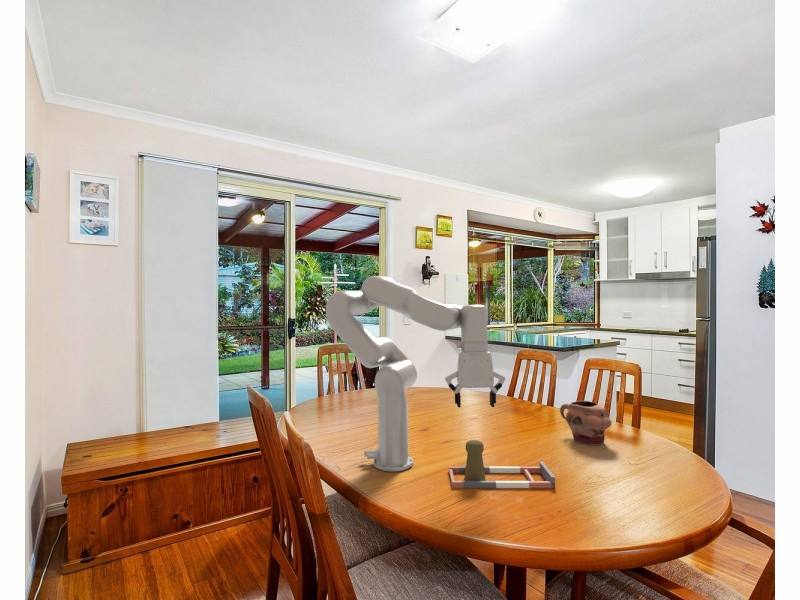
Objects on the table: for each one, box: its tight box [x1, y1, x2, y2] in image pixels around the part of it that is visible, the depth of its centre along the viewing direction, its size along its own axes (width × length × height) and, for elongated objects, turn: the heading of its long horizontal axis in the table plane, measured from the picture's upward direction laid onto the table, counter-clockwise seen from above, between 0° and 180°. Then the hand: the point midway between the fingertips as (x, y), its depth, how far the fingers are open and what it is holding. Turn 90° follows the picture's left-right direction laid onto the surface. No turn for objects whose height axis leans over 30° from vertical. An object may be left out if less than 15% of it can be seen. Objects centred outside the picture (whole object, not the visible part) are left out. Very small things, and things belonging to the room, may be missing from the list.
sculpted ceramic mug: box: [559, 400, 612, 446], centre depth 153 cm, size 20×12×14 cm, turn 38°
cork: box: [464, 439, 487, 481], centre depth 122 cm, size 6×6×11 cm
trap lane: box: [448, 461, 556, 489], centre depth 122 cm, size 28×11×3 cm, turn 88°
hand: (475, 406), depth 123 cm, fingers open, 9 cm apart
